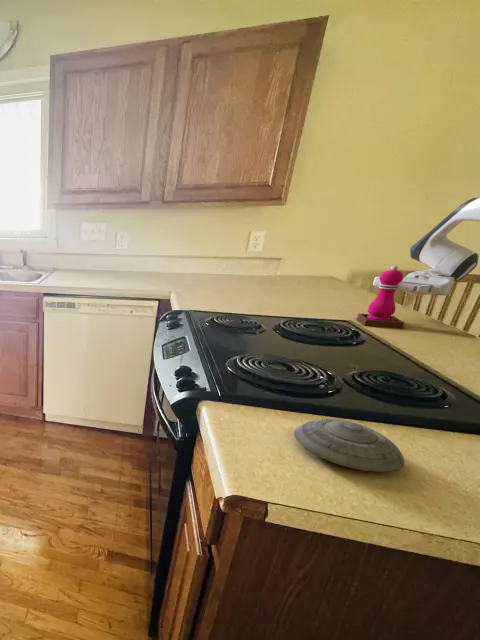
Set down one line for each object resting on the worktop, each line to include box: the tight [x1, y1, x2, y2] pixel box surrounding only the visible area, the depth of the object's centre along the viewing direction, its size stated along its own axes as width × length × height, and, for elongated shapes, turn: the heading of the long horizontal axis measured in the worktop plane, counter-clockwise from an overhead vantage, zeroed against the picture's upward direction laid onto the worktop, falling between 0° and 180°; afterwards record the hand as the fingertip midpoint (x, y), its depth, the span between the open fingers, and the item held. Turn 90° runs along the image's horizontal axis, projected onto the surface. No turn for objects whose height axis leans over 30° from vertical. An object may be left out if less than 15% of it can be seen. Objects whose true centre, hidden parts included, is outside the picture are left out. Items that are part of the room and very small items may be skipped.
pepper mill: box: [366, 265, 405, 321], centre depth 139 cm, size 7×7×20 cm
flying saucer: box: [293, 418, 406, 473], centre depth 69 cm, size 15×15×6 cm
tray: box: [356, 313, 405, 329], centre depth 142 cm, size 10×10×2 cm
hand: (398, 286), depth 140 cm, fingers open, 8 cm apart
